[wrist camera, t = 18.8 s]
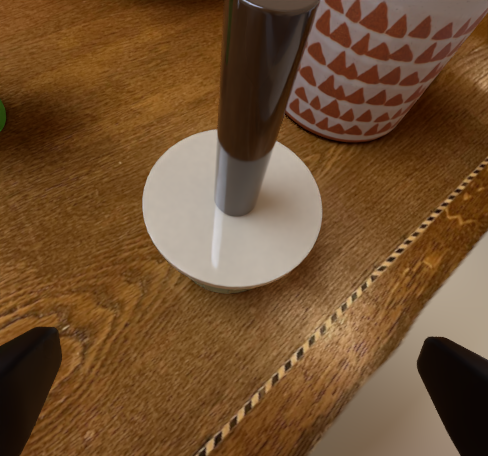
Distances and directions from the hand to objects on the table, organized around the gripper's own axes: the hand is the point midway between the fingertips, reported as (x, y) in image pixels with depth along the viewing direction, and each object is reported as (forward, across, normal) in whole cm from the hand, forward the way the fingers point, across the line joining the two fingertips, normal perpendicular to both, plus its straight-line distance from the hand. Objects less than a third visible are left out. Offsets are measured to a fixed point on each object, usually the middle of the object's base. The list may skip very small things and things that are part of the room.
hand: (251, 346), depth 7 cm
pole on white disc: (+11, 0, -1) cm, 11 cm away
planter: (+27, -10, -8) cm, 30 cm away
